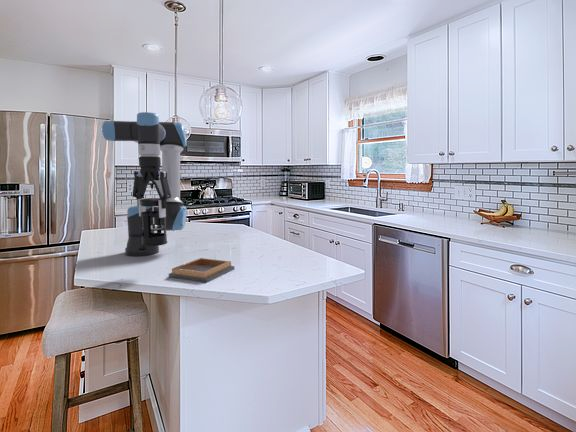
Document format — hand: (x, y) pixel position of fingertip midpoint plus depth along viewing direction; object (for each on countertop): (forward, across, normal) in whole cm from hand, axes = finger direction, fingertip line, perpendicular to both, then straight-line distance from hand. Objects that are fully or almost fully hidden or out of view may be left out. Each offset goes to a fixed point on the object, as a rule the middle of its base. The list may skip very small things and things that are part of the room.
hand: (152, 216), depth 134 cm
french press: (+11, 0, 0) cm, 11 cm away
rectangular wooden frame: (+22, +16, +8) cm, 29 cm away
